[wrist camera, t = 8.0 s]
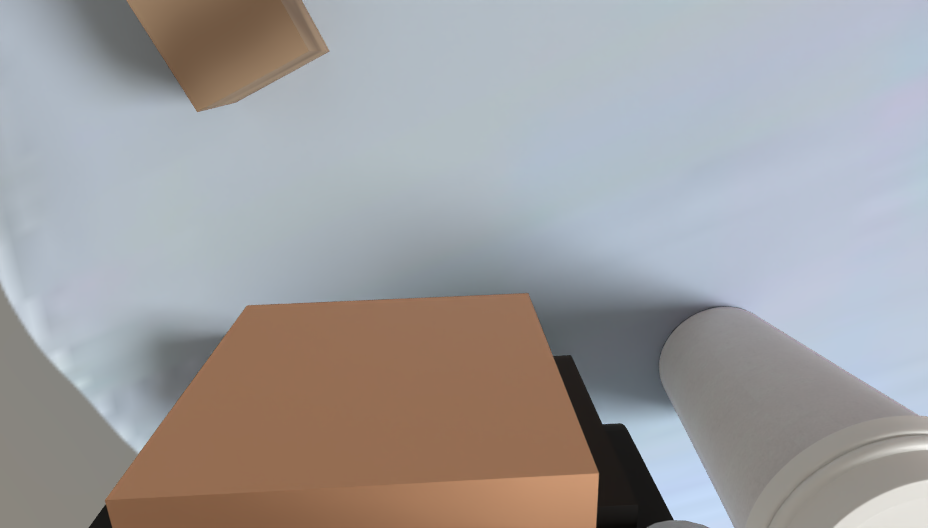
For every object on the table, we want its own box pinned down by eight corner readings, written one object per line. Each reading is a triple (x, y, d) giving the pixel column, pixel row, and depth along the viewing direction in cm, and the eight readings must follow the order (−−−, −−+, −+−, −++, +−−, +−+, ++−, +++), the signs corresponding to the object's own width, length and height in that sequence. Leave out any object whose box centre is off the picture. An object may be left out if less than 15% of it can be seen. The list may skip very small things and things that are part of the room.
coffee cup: (611, 421, 35) (731, 670, 21) (660, 265, 32) (839, 433, 18) (766, 444, 36) (980, 696, 22) (827, 295, 33) (1121, 476, 19)
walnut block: (172, -3, 27) (117, -15, 22) (269, -59, 27) (234, -83, 22) (236, 102, 29) (197, 112, 24) (329, 51, 28) (309, 51, 23)
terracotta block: (246, 305, 11) (105, 499, 6) (527, 292, 11) (599, 473, 6) (282, 531, 13) (191, 822, 8) (526, 517, 13) (581, 793, 8)
